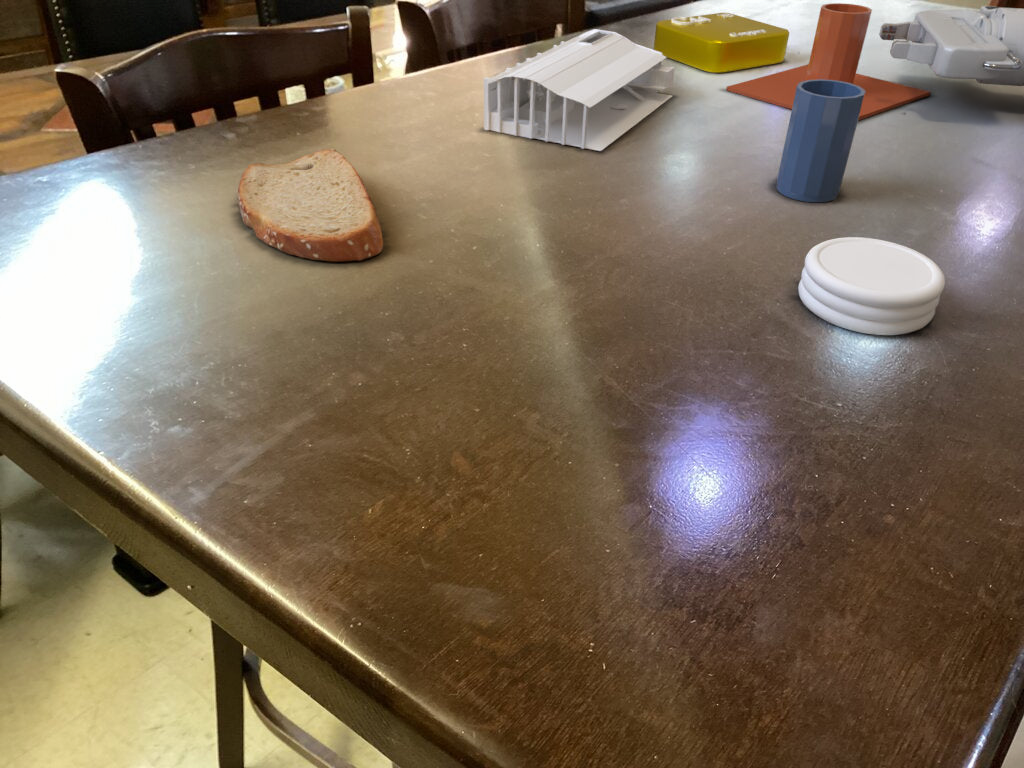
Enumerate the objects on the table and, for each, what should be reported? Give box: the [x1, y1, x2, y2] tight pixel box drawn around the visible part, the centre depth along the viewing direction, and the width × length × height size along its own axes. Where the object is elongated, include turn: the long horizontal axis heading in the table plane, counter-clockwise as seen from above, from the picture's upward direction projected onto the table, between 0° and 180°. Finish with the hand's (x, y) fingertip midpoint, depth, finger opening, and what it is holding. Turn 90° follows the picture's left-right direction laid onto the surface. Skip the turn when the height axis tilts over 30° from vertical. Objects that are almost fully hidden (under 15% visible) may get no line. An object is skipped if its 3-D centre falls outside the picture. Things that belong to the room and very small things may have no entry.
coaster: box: [797, 236, 946, 336], centre depth 62 cm, size 10×10×4 cm
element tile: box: [653, 12, 790, 74], centre depth 122 cm, size 15×15×5 cm
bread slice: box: [237, 148, 384, 262], centre depth 75 cm, size 18×18×4 cm
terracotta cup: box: [805, 2, 873, 84], centre depth 105 cm, size 6×6×10 cm
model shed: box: [483, 28, 676, 152], centre depth 99 cm, size 25×15×7 cm, turn 152°
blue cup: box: [775, 79, 866, 203], centre depth 79 cm, size 6×6×10 cm
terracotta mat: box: [725, 63, 931, 121], centre depth 109 cm, size 18×20×1 cm
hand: (886, 39), depth 104 cm, fingers open, 8 cm apart
